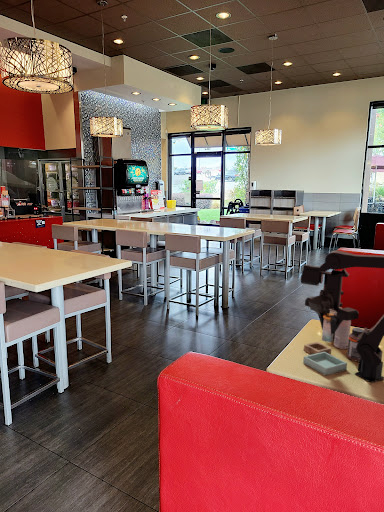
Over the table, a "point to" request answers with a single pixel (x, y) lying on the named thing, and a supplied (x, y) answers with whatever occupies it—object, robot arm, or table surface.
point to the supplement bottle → (354, 344)
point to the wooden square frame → (313, 348)
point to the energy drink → (342, 335)
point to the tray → (325, 363)
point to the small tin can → (327, 328)
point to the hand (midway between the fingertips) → (328, 331)
